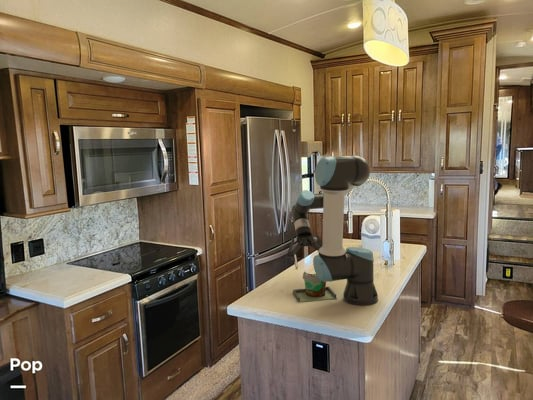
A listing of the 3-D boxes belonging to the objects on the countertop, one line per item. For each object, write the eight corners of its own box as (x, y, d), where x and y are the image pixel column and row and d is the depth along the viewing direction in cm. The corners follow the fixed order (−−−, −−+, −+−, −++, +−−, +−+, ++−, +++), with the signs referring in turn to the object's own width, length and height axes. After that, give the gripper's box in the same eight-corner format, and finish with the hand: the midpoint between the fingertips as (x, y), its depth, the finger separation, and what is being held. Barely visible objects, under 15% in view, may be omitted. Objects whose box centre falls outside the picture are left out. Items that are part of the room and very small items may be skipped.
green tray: (336, 298, 186) (336, 294, 186) (297, 302, 184) (297, 298, 183) (329, 290, 198) (329, 286, 197) (292, 293, 195) (292, 289, 195)
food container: (298, 295, 191) (297, 274, 190) (304, 291, 196) (304, 271, 195) (321, 300, 184) (320, 278, 183) (327, 296, 189) (327, 274, 188)
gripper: (325, 232, 210) (335, 268, 197) (277, 235, 207) (284, 272, 194) (328, 223, 205) (338, 260, 191) (279, 227, 201) (285, 264, 188)
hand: (311, 266), depth 193 cm, fingers open, 13 cm apart
